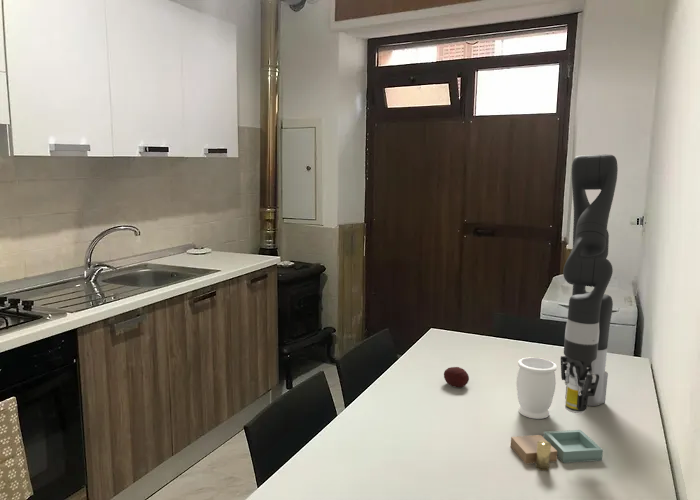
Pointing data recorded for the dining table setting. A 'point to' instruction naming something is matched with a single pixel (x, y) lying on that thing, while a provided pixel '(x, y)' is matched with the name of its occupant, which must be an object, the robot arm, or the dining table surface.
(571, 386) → the supplement bottle
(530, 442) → the brown wooden square block
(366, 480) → the dining table surface
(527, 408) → the jar
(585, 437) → the tray
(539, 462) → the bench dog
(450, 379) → the potato
